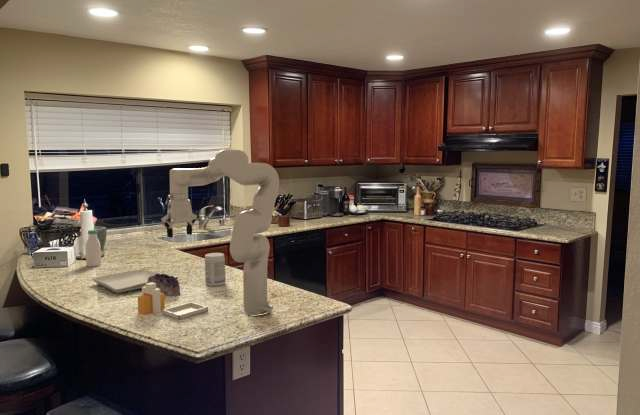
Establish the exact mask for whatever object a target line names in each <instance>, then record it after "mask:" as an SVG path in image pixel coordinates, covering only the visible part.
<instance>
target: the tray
mask: <svg viewBox="0 0 640 415" xmlns="http://www.w3.org/2000/svg"><path fill="white" fill-rule="evenodd" d="M208 312H209V307H208V306H206V305H203V304H200V303H196V302H194V301H189V302H186V303H182V304H178V305H175V306H170V307H168V308H165V309H163V310H161V313H162V315H163V316H166V317H167V318H171V319H174V320H177V321H181V320H184V319H188V318H191V317H195V316H198V315H202V314H204V313H208Z"/></svg>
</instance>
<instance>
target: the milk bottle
mask: <svg viewBox="0 0 640 415" xmlns="http://www.w3.org/2000/svg"><path fill="white" fill-rule="evenodd" d="M87 235H88V237H87V241H86V243H85V265H86V267H89V268H90V267H92V268H93V267H94V268H95V267H99V266H101V265H102V251H101V250H102V249H101V248H102V247H101V242H100V239H99V238H98V230H97V229H89V230H87Z"/></svg>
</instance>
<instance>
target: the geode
mask: <svg viewBox="0 0 640 415" xmlns="http://www.w3.org/2000/svg"><path fill="white" fill-rule="evenodd" d="M156 273H157V272H156ZM178 278H179V277H177V276H176V277H175V276H173V275H171V276H170V275H169V274H167V273H166V274H165V273H164V272H162V273H159V272H158V273H157V274H155V275H154V276H150V277H149V278H148V282H147V283H151V282H153V283H156V288H158V289H160V292H161V293H164V296H165V297H166V296H167V297H176V296H177V297H178V296H180V295H181V288H180V282H179V280H178Z"/></svg>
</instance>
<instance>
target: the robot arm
mask: <svg viewBox="0 0 640 415" xmlns="http://www.w3.org/2000/svg"><path fill="white" fill-rule="evenodd" d="M249 161H250V160H249V156H248V154H247V153H246V152H245V151H242V150H241V149H222V150H219V151H218V152H217V153H216V154H215V156H214V157H213V158H211V159H210V160H209V161H208V165H207V166H204V167H201V168H200V167H199V168H195V167H194V168H172V169H170V170H169V194H168V195H167V198H168V199H169V200H168V204H167V211H166V212H167V213H166V215H164V216H162V217H161V219H160V220H161V222H162V225H163V226H164V227H165V228H166V235H167V238H173V237H174V229H173V226H174V224H175V225H176V224H177V225H178V224H185V223H186V224H187V225H186V234H187V235H189V236H192V235H193V226H194V224H195V223H196V220H197V217H198V215H197V214H195V213H193V210H192V204H191V200H190V199H189V187H197V186H198V187H200V186H207V185H209V184H211V183H215V182H217V181H219V180H220V179H221V178H224V177H226V176H227V177H228V178H230V179H231V180H233V181H234V182H235V183H237V184H240V186H241V185H242V186H244V187H245V186H257V185H258V189H257V190H256V191H255V194H254V195H253V199H252V204H251V208H250V209H248V210H243V211H241V212H240V213H238V214H237V215H236V218H235V220H234V222H233V227H232V233H231V238H230V243H229V253H230V256H231V259H233V261H235V262H237V263H243V264H244V265H243V268H242V269H243V271H242V272H243V273H242V274H243V277H242V278H243V281H242V282H243V284H242V286H243V288H242V289H243V306H241V307H240V308H239V312H240V313H242V314H245V315H258V314H264V313H267V312H268V313H269V314H271V312H272V310H274V307H273V305H270V301H268V263H269V262H268V261H269V255H270V249H271V245H270V241H269V239H268V238H267V237H266V236H265V235H263V234H261V233H265V232H267V231H268V230H269V229H270V228H271V223H272V219H273V214H274V209H275V204H276V200H277V196H278V192H279V188H280V178H279V174H278V172H277V171H276V169H275V167H273V166H272V165H271V164H268V163H264V162H249Z"/></svg>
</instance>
